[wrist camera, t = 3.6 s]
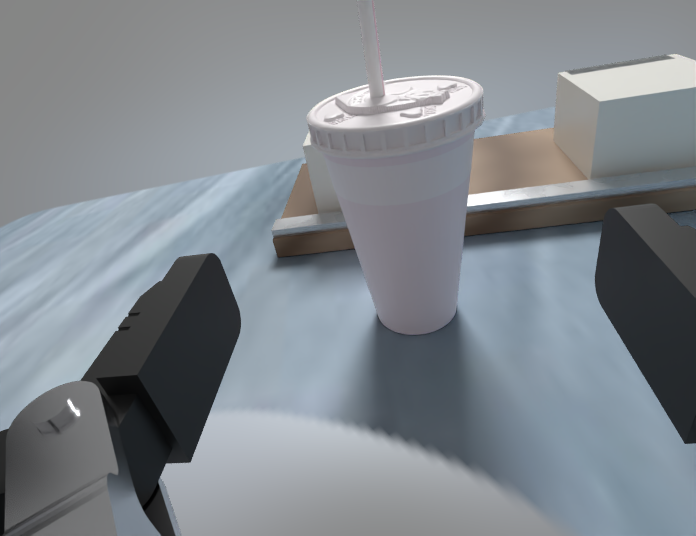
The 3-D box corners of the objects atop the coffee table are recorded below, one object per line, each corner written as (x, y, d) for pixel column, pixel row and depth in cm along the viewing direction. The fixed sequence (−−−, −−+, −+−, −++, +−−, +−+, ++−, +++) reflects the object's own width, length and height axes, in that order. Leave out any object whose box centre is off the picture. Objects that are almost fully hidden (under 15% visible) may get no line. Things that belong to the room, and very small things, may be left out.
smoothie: (386, 261, 26) (340, -38, 18) (504, 281, 22) (510, -74, 15) (324, 336, 21) (229, -16, 14) (459, 374, 18) (435, -59, 10)
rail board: (277, 257, 28) (250, 168, 25) (305, 177, 38) (288, 107, 35) (801, 197, 24) (848, 82, 21) (678, 125, 34) (697, 40, 30)
